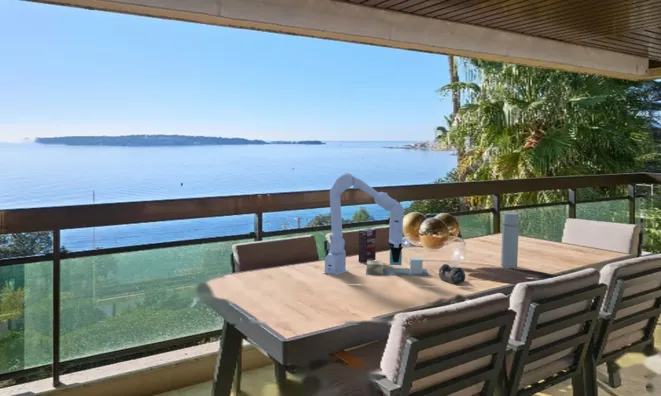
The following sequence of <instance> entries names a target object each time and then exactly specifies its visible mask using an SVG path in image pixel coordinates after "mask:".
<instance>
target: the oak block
mask: <svg viewBox="0 0 661 396" xmlns="http://www.w3.org/2000/svg"><path fill="white" fill-rule="evenodd" d="M366 268H367V273H380V274H383V268H384V261H383V260H376V261H367V263H366Z"/></svg>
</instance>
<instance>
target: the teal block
mask: <svg viewBox="0 0 661 396" xmlns="http://www.w3.org/2000/svg"><path fill="white" fill-rule="evenodd" d="M402 254H403V252H402V250H401V252H400V256H399V261H398V262H393V257H392V252H391V249H390V248H389V266H402V264H403V263H402V260H403V259H402V257H403V255H402Z"/></svg>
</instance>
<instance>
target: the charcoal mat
mask: <svg viewBox="0 0 661 396" xmlns="http://www.w3.org/2000/svg"><path fill="white" fill-rule="evenodd" d="M365 275H366V276H389V277H391V276H395V277H396V276H397V277H398V276H400V277H401V276H402V277H407V276H408V277H430V274H429V272H428V270H427V268H422V274H415V273H411V272H410V268H401V267H391V268H390V267H383V274H380V273H367V267H366V269H365Z"/></svg>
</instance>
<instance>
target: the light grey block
mask: <svg viewBox="0 0 661 396" xmlns="http://www.w3.org/2000/svg"><path fill="white" fill-rule="evenodd" d="M423 261H424V260H423V257H415V256H414V257H412V256H411V257H410V258H409V269H410V272H411V273H415V274H422V269H424V267H423Z"/></svg>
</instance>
